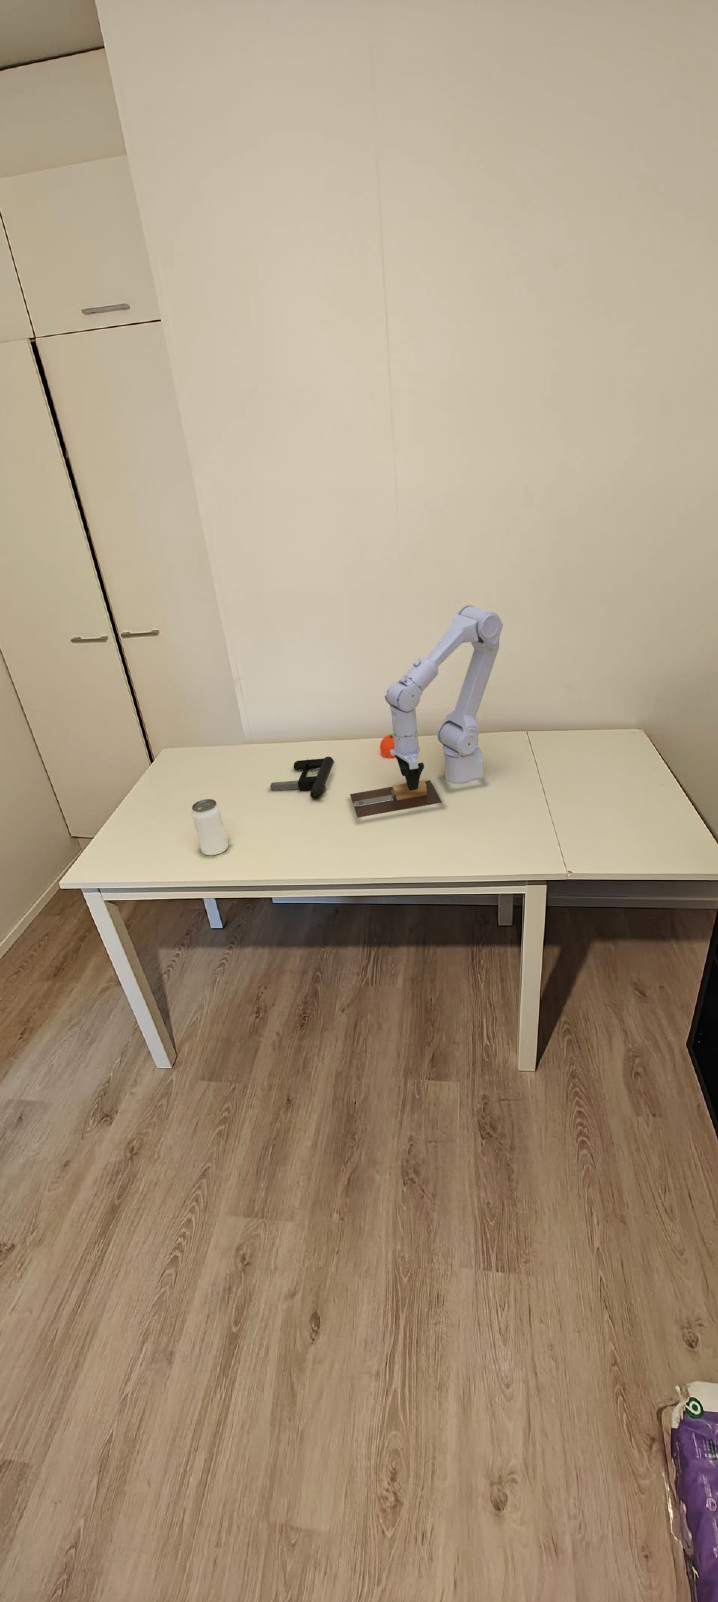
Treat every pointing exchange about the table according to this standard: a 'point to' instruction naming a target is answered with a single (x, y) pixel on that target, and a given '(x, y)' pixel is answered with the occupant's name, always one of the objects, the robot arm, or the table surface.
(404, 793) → the knife
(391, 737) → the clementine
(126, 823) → the table surface
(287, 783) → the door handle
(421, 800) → the board
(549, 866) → the table surface
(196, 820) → the can
